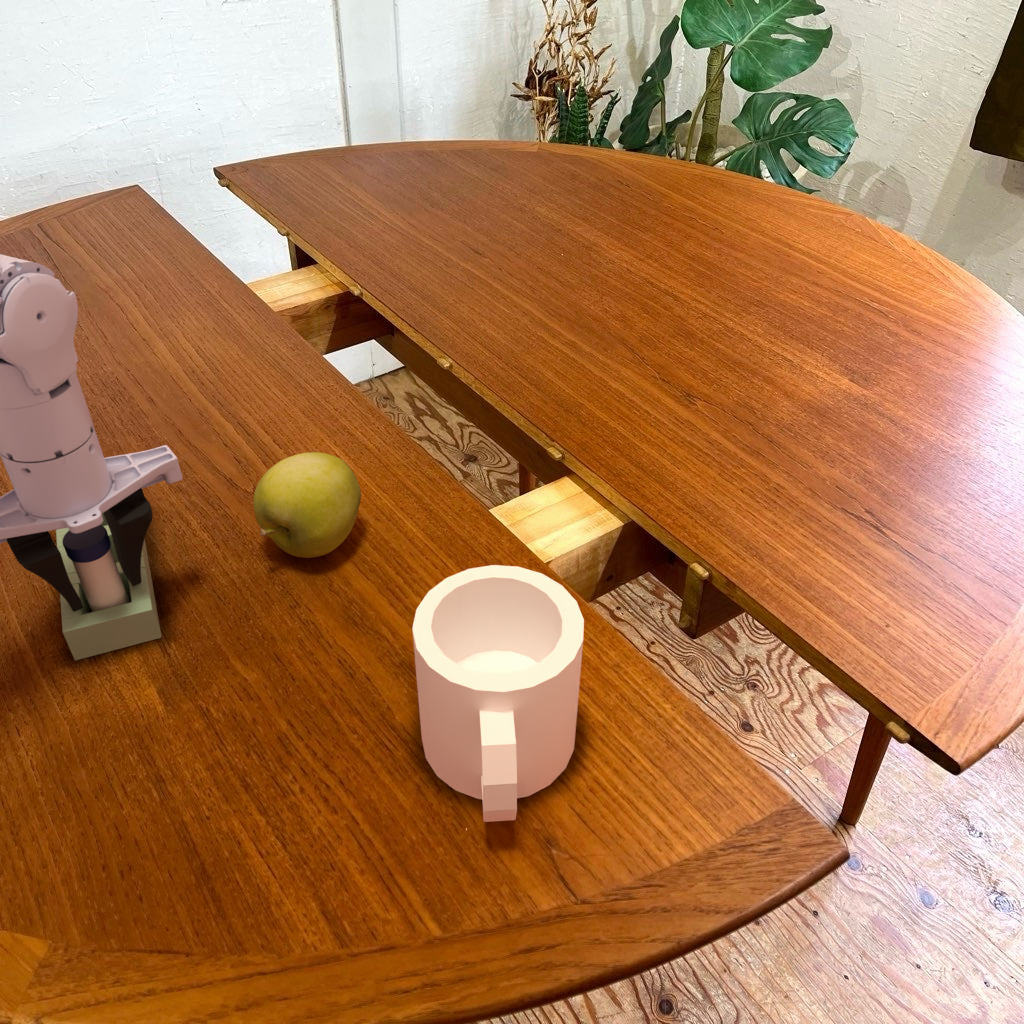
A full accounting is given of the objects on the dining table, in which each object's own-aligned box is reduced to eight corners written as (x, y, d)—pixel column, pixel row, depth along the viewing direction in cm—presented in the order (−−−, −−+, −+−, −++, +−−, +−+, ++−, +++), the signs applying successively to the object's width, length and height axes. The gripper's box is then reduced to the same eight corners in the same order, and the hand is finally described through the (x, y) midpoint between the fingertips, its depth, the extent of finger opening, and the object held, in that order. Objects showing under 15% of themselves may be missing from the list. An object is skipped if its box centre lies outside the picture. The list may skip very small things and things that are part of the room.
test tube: (103, 640, 70) (70, 556, 64) (89, 617, 72) (56, 533, 66) (142, 623, 71) (112, 538, 66) (127, 600, 73) (98, 516, 67)
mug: (592, 844, 58) (604, 736, 51) (422, 855, 57) (411, 747, 50) (565, 670, 68) (573, 561, 61) (421, 678, 67) (412, 568, 60)
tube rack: (161, 637, 70) (152, 609, 68) (74, 661, 68) (62, 632, 66) (140, 511, 81) (131, 483, 79) (64, 528, 79) (53, 500, 77)
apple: (238, 563, 76) (219, 484, 71) (305, 498, 82) (293, 421, 77) (320, 594, 74) (306, 515, 68) (383, 524, 80) (375, 447, 75)
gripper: (-63, 513, 55) (15, 670, 63) (181, 425, 61) (221, 578, 70) (-91, 453, 59) (-14, 608, 68) (140, 377, 66) (182, 527, 74)
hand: (103, 589), depth 69 cm, fingers open, 4 cm apart
